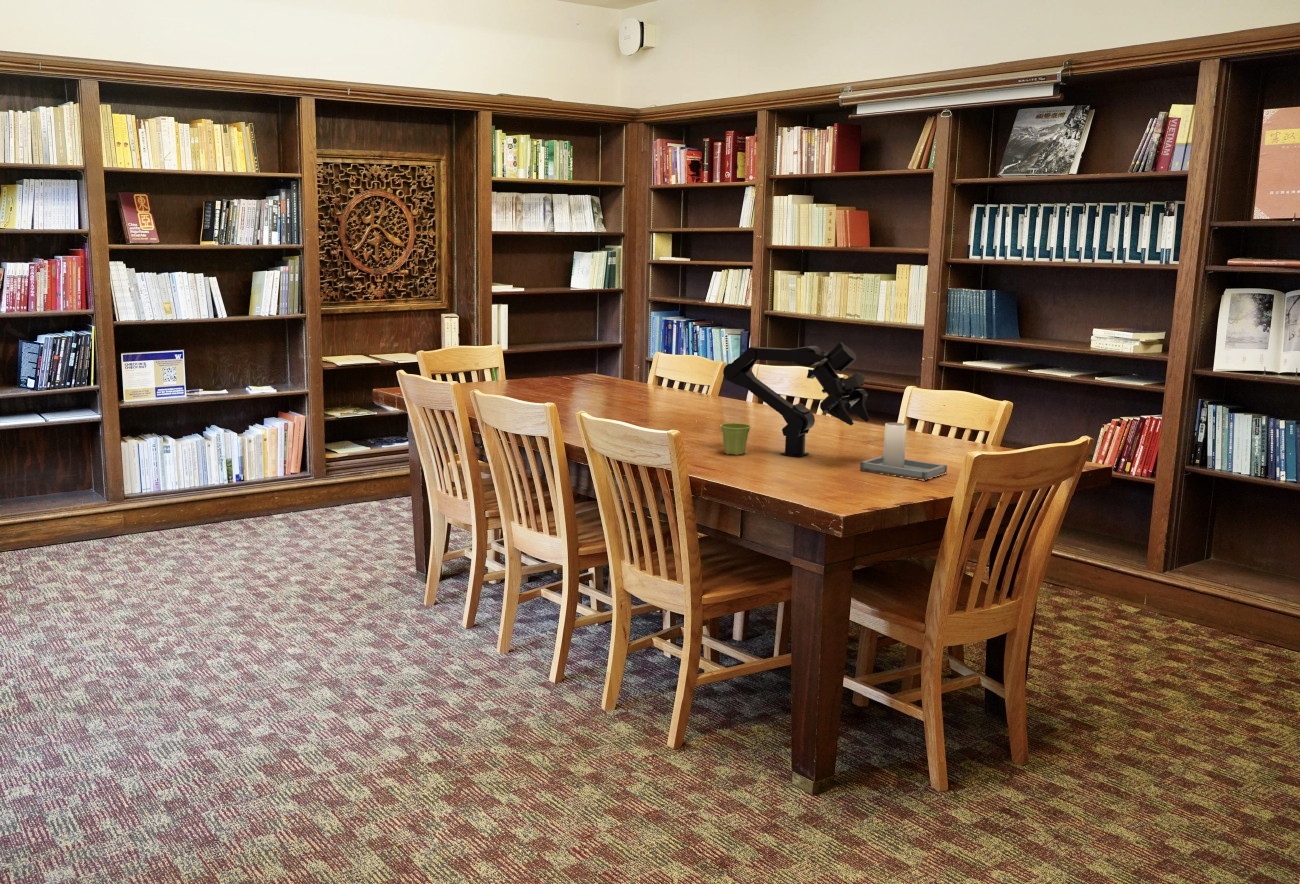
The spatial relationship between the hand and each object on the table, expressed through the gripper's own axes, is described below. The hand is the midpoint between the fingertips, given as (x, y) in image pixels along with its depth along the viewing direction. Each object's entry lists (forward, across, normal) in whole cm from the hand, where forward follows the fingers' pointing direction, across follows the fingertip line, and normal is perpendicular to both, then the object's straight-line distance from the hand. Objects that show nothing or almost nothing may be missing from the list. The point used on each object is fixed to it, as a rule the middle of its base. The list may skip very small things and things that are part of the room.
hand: (860, 422), depth 326 cm
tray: (+19, -1, -2) cm, 19 cm away
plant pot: (-15, -14, +34) cm, 39 cm away
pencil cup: (+16, -1, -1) cm, 16 cm away
